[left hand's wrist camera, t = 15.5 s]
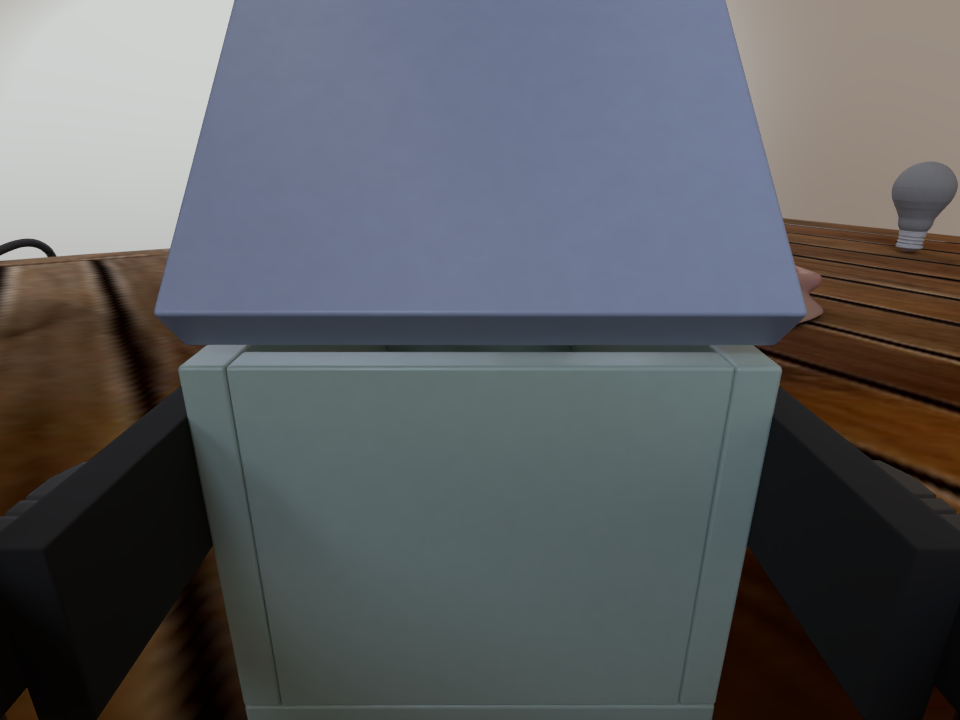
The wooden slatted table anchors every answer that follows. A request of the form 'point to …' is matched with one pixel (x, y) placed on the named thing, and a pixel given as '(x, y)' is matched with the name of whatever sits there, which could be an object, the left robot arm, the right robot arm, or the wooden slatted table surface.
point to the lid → (480, 180)
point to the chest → (479, 524)
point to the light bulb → (921, 200)
